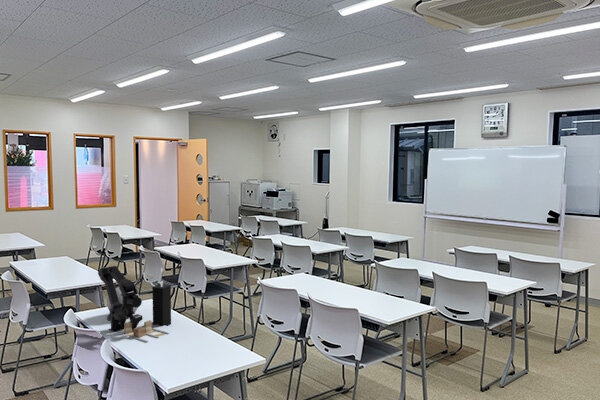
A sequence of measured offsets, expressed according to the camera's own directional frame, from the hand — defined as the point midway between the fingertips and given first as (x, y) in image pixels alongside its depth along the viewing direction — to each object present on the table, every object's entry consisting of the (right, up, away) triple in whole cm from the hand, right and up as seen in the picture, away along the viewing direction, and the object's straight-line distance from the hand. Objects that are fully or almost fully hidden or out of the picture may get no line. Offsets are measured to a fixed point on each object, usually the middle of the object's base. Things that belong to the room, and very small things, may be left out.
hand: (128, 330), depth 264 cm
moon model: (-15, -1, +33) cm, 36 cm away
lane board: (+14, -3, -4) cm, 14 cm away
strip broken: (+16, -3, -1) cm, 16 cm away
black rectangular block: (+15, -2, +17) cm, 22 cm away
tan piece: (+5, -3, -3) cm, 6 cm away
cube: (+8, -2, -5) cm, 10 cm away
